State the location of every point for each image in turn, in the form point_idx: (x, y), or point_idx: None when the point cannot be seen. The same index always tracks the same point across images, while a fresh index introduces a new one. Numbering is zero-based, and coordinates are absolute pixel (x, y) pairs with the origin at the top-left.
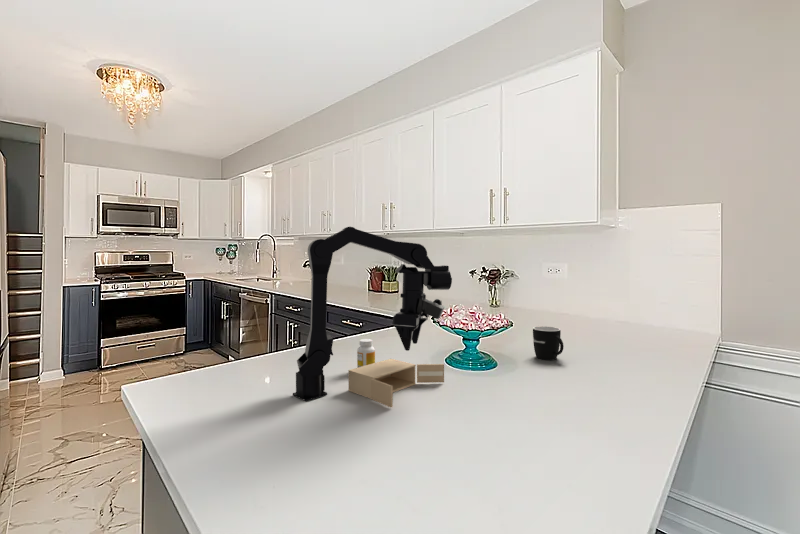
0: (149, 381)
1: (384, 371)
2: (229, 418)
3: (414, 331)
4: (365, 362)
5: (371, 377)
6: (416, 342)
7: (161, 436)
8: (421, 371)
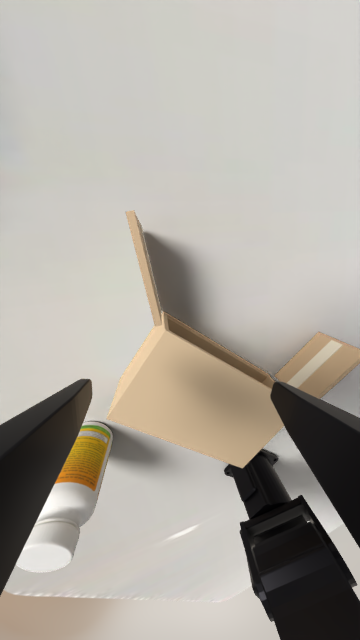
0: (209, 600)
1: (251, 398)
2: (323, 493)
3: (32, 480)
4: (104, 461)
5: None
6: (87, 383)
7: None
8: (158, 303)
